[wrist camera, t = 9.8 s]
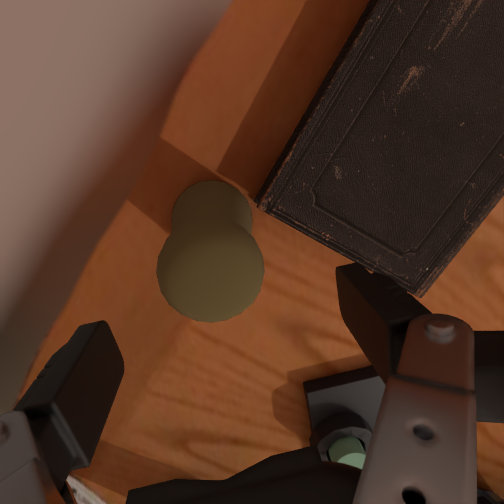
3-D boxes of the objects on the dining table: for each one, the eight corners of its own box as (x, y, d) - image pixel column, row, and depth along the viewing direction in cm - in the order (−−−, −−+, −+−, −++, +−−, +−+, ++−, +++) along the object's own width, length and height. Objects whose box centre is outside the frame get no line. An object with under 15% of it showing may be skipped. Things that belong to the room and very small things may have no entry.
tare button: (330, 463, 32) (336, 481, 30) (326, 440, 31) (332, 458, 29) (362, 455, 32) (369, 473, 30) (359, 432, 31) (367, 449, 29)
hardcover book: (253, 200, 25) (257, 207, 22) (456, -148, 19) (487, -184, 17) (409, 288, 29) (425, 301, 27) (614, 26, 23) (654, 16, 21)
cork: (154, 211, 24) (110, 272, 14) (221, 163, 23) (228, 190, 13) (204, 271, 26) (197, 364, 16) (267, 229, 25) (302, 297, 15)
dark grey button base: (314, 474, 36) (322, 503, 33) (297, 383, 31) (305, 408, 28) (441, 442, 36) (460, 468, 34) (443, 348, 32) (465, 369, 29)
